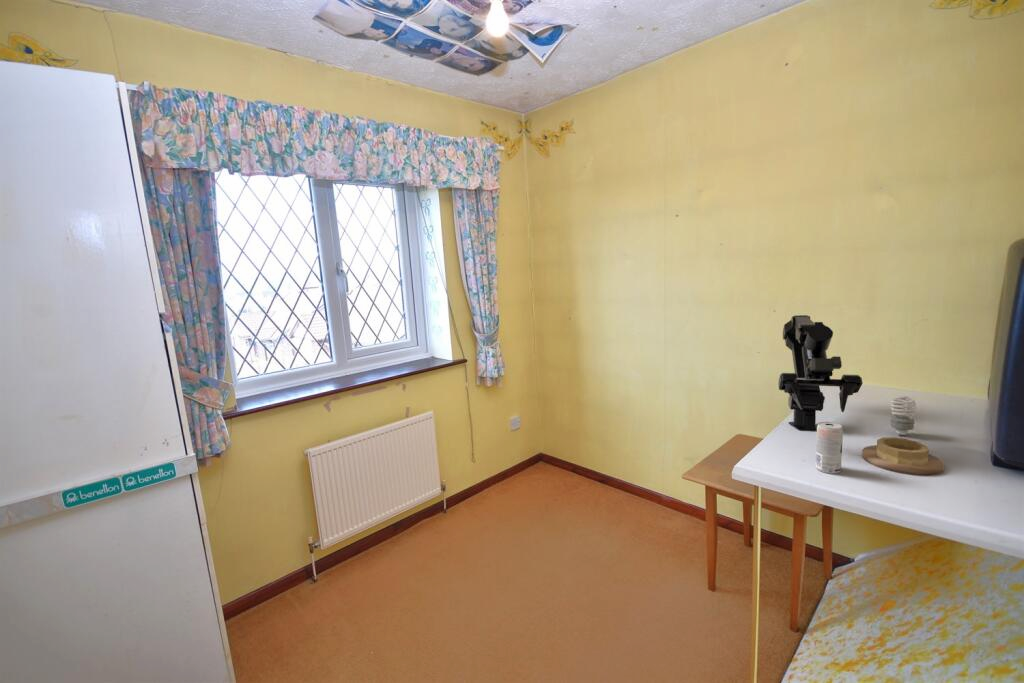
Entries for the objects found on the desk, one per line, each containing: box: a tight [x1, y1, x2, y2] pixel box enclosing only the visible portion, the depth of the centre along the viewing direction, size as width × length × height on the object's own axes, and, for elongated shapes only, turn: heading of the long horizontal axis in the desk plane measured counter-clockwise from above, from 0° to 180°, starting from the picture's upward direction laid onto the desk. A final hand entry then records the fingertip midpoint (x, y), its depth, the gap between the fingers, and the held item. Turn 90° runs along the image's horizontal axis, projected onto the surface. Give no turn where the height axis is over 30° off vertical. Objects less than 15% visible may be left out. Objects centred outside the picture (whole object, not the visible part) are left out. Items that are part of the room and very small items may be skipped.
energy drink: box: [814, 421, 844, 475], centre depth 113 cm, size 5×5×12 cm
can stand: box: [861, 436, 945, 477], centre depth 115 cm, size 16×16×5 cm
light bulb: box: [889, 395, 917, 436], centre depth 130 cm, size 6×6×12 cm
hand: (822, 410), depth 119 cm, fingers open, 9 cm apart
